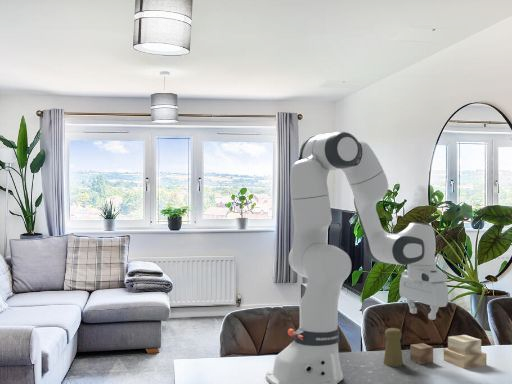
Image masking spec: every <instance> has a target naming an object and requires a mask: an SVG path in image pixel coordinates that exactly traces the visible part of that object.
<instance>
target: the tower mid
mask: <svg viewBox="0 0 512 384" xmlns="http://www.w3.org/2000/svg"><path fill="white" fill-rule="evenodd" d="M447 348H448V349H449V350H451V351H454V352H457V353H460V354H462V355H468V354H475V353H481V352H482V339H480V338H476V337H473V336H470V335H467V334H461V335H460V334H459V335H451V336H447Z"/></svg>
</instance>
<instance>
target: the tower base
mask: <svg viewBox="0 0 512 384" xmlns="http://www.w3.org/2000/svg"><path fill="white" fill-rule="evenodd" d="M443 361H445V362H447V363H449V364H452V365H455V366H457V367H459V368H462V369H469V368H477V367H482V366H483V367H484V366H487V353H486V352H484V351H481V353H475V354H468V355H462V354H460V353H457V352H454V351H451V350H449V349H448V347H447V348H443Z"/></svg>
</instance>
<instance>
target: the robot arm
mask: <svg viewBox="0 0 512 384" xmlns="http://www.w3.org/2000/svg"><path fill="white" fill-rule="evenodd" d="M381 164H382V163H380V161H379V159H378V157H377V156H376V154H375V152H374V151H373V149H372V147H371V146H370V145H369V144H368V143H367V142H364V141H362V140H360V141H358V138H357V137H355V136H354V135H353V134H352V133H349V132H347V131H334V132H323V133H320V134H317V135H313V136H311V137H308V138H307V139H306V140H305V141H304V142H303V143H302V145H301V147H300V150H299V156H298V160H297V161H295V162H294V163H292V166H291V167H290V175H289V189H290V190H289V191H290V193H289V194H290V198H291V199H290V200H291V201H290V202H291V207H292V217H293V218H292V219H293V228H294V229H293V238H292V239H293V240H292V247H291V249H290V251H289V254H288V265H289V266H290V268H291V269H292V270H293V271H294V272H295V273H296V274H297V275H298V276H300V277H301V278H306V279H307V280H306V281H307V282H306V288H305V291H304V294H303V296H302V297H301V299H300V301H299V326H298V328H297V329H296V330H295V329H293V328H289V329H287V334H288V335H289V336H290V337H292V338H293V341H292V342H290V344H289V345H288V346H286V347H285V348H283V350H281V351H280V352H279V353H278V354H277V355H276V356H275V359H274V362H273V363H274V364H273V369H272V370H269V371H266V373H265V379H266V380H267V382H268V383H270V384H338V383H340V382H341V381H342V380H343V379H344V374H343V372H342V367H341V362H340V355H339V345H340V329H339V328H338V315H339V313H338V311H339V308H338V306H339V305H338V304H339V298H340V294H341V290H342V287H343V284H344V282H345V280H347V278H348V277H349V275H350V274H351V272H352V260H351V258H350V255H349V254H348V253H347V252H346V251H344V250H343V249H341V248H339V247H338V246H336V245H333V244H328V243H327V241H328V240H327V238H328V229H329V227H330V226H331V223H332V221H333V216H332V210H331V209H332V208H331V200H330V195H329V188H328V187H329V186H328V174H329V172H330V171H336V170H340V169H341V170H342V172H343V173H344V175H345V177H346V180H347V182H348V183H349V186H350V188H351V191H352V194H353V203H354V208H355V212H356V214H357V217H358V220H359V223H360V226H361V229H362V232H363V235H364V239H365V249H366V253H367V256H368V257H369V258H370V260H372V261H374V262H375V263H377V264H378V263H380V264H390V265H391V264H392V265H398V266H406V265H407V266H406V267H407V268H406V269H404V270H403V271H402V272H401V277H400V279H399V289H398V290H399V296H400V297H401V298H404V299H406V302H407V304H408V307H409V313H411V314H413V315H414V314H418V307H416V305H415V302H417V303H422V304H425V305H428V306H429V309H431V310H430V312H429V313H427V314H428V315H427V317H428V319H429V320H432V321H433V320H436V319H437V313H438V311H439V308H444V307H447V305H448V302H449V291H448V284H447V283H446V282H448V275H447V274H446V273H445V272H443V271H441V270H440V269H439V268H438V267H437V261H436V258H435V255H436V249H437V247H436V243H437V242H436V235H435V231H434V227H433V226H432V225H430V224H429V223H423V222H414V221H413V222H409V224H408V225H407V226H406V228H404V229H403V230H401V231H398V232H397V233H389V231H386V230H385V229H384V228H383V226H382V223H381V220H380V216H379V213H378V212H377V204H378V203H379V202H380V201H382V200H383V198H384V197H385V196H386V194H387V193H388V190H389V182H388V178H387V175H386V172H385V171H384V169H383V167H382V165H381Z"/></svg>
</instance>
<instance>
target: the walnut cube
mask: <svg viewBox="0 0 512 384" xmlns="http://www.w3.org/2000/svg"><path fill="white" fill-rule="evenodd" d="M409 347H410V348H409V350H410V353H409V355H410V357H409V358H410V359H411V360H413V361H412V362H414V361H415V362H414V363H416V362H417V363H416V364H418V363H419V365H426V364H425V363H427V364H434V347H433V346H431V345H428V344H426V343H424V342H421V343H414V344H410V346H409ZM411 360H410V361H411Z"/></svg>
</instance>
